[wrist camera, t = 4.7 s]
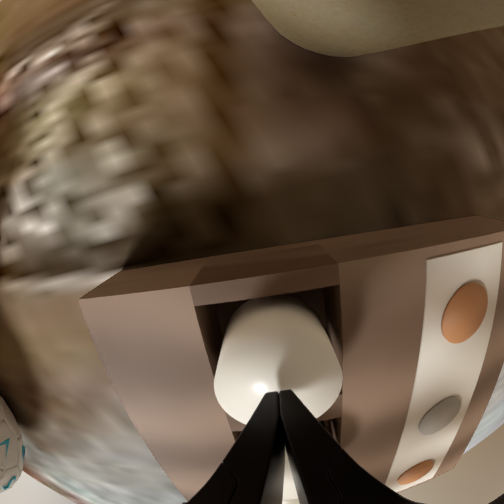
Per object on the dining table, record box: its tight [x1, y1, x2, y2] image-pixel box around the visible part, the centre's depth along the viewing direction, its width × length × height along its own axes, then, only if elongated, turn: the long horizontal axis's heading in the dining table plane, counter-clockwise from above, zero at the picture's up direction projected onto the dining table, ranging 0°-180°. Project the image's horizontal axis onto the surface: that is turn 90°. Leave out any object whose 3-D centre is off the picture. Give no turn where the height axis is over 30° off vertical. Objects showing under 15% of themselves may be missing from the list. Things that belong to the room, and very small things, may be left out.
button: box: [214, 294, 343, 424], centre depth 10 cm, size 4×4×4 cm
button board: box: [78, 215, 504, 501], centre depth 14 cm, size 21×22×5 cm
